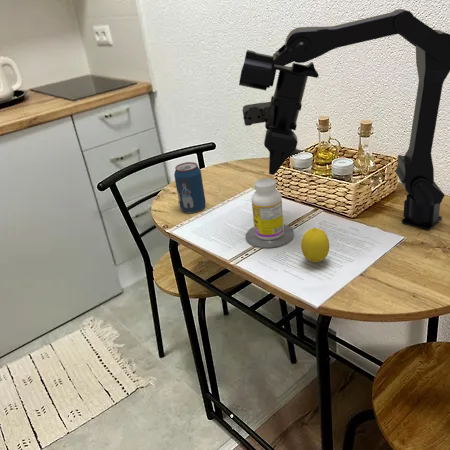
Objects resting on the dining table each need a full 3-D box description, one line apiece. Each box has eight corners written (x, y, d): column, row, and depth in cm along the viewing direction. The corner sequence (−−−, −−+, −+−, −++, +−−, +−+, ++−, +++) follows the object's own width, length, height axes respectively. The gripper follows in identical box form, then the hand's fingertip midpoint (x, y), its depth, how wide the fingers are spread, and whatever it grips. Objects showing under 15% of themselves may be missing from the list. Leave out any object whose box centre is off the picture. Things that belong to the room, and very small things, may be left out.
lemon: (323, 272, 92) (322, 237, 89) (297, 266, 95) (295, 232, 92) (333, 258, 96) (333, 223, 93) (308, 253, 99) (306, 219, 96)
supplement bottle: (256, 227, 111) (251, 177, 105) (284, 226, 110) (281, 175, 104) (253, 242, 105) (248, 189, 99) (283, 241, 104) (280, 187, 98)
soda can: (202, 200, 130) (195, 159, 124) (209, 210, 124) (203, 167, 118) (177, 206, 128) (170, 165, 122) (184, 216, 122) (176, 173, 117)
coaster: (303, 232, 107) (303, 230, 107) (272, 253, 101) (272, 251, 100) (267, 220, 114) (267, 218, 114) (235, 239, 108) (235, 237, 108)
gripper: (251, 78, 103) (238, 145, 111) (246, 98, 87) (231, 175, 94) (301, 88, 103) (284, 154, 111) (306, 110, 87) (286, 186, 94)
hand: (271, 166), depth 102 cm, fingers open, 9 cm apart
